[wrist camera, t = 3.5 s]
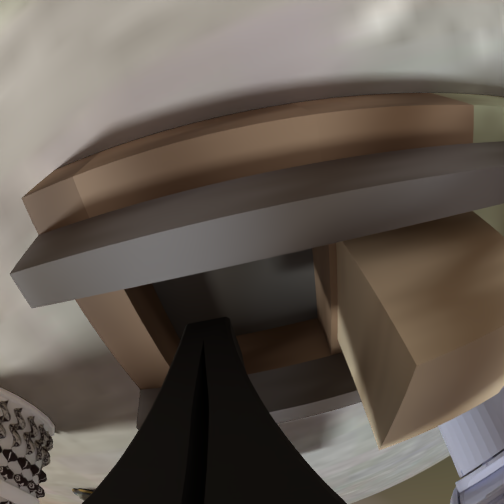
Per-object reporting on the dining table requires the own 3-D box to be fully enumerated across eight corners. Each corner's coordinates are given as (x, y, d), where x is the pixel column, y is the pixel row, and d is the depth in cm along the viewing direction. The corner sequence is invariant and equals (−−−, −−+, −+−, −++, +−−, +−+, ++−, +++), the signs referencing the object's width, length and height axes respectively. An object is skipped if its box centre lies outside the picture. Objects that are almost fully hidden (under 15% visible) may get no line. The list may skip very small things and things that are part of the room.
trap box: (591, 112, 9) (635, 136, 5) (564, 252, 16) (595, 283, 12) (55, 169, 9) (-14, 231, 6) (164, 376, 16) (160, 448, 12)
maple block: (462, 203, 9) (559, 291, 5) (440, 305, 12) (498, 393, 8) (335, 230, 9) (416, 365, 5) (337, 339, 12) (379, 450, 8)
